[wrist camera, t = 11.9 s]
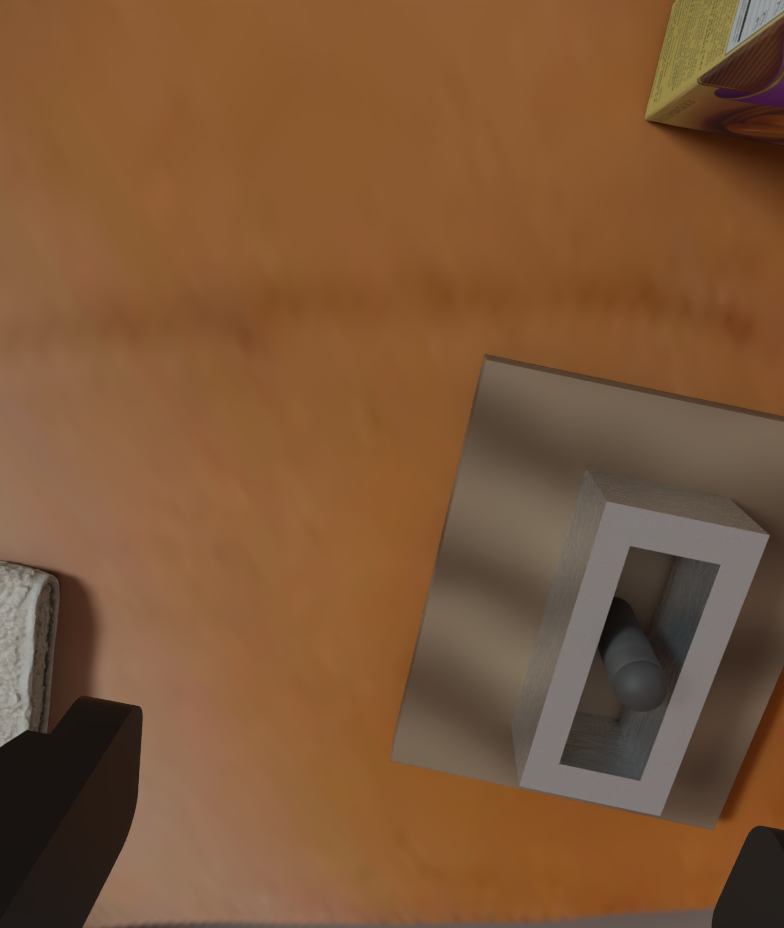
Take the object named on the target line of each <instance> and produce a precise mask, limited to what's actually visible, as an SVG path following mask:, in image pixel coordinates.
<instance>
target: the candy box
mask: <svg viewBox="0 0 784 928" xmlns="http://www.w3.org/2000/svg"><path fill="white" fill-rule="evenodd" d="M645 120H648V121H654V122H660V123H664V124H669V125H673V126H679V127H685V128H689V129H695V130H700V131H706V132H714V133H719V134H724V135H729V136H734V137H739V138H745V139H750V140H755V141H761V142H767V143H772V144H780V145H784V0H676V1H675V2H674V4H673V5H672V10H671V15H670V19H669V23H668V27H667V31H666V35H665V39H664V43H663V47H662V51H661V55H660V59H659V63H658V67H657V71H656V75H655V79H654V83H653V87H652V91H651V95H650V98H649V102H648V106H647V110H646V114H645Z"/></svg>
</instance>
